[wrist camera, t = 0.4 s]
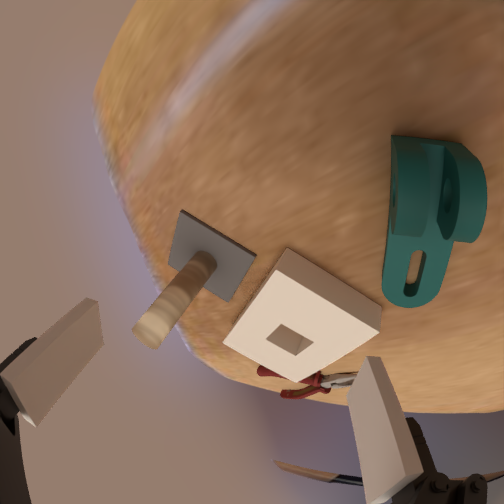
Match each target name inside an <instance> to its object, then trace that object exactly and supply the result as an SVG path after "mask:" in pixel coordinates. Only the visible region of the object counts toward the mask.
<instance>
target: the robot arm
mask: <svg viewBox="0 0 504 504" xmlns="http://www.w3.org/2000/svg"><path fill="white" fill-rule="evenodd" d="M103 345H104V342H103V336H102V329H101V322H100V315H99V306H98V301H95V300H92V299H89V298H85V299H84V300H83V301H82V302H80V303H79V304H78V305H77V306H75V307H74V308H73V309H72V310H70V311H69V312H68V313H67V314H66V315H64V316H63V317H62V318H61V319H60V320H59V321H57V322H56V323H55V324H54V325H53V326H51V327H50V328H49V329H48V330H47V331H46V332H45V333H43V334H42V335H41V336H40V337H39V338H38V339H37V338H36V337H34V338H32V339H29V340H27V341H25V342H24V343H23V344H22V345H21V346H20V347H19V349H16V350H15V351H14V352H13V354H11V355H10V356H8V357H7V358H6V359H5V360H4V361H3V362H2V363H1V364H0V504H31V500H30V496H29V491H28V487H27V483H26V478H25V472H24V466H23V460H22V452H21V444H20V434H19V420H18V416H17V413H18V412H19V411H20V412H21V414H22V415H23V417H24V418H25V420H27V421H28V422H29V423H31V424H32V425H34V426H35V427H37V426H38V425H39V424H40V422H41V421H42V420H43V418H44V417H45V416H46V415H47V413H48V412H49V411H50V409H51V408H52V407H53V405H54V404H55V403H56V402H57V400H58V399H59V398H60V397H61V395H62V394H63V393H64V392H65V390H66V389H67V388H68V387H69V385H70V384H71V383H72V382H73V380H74V379H75V378H76V377H77V376H78V374H79V373H80V372H81V371H82V370H83V368H84V367H85V366H86V365H87V364H88V363H89V361H90V360H91V359H92V358H93V356H94V355H95V354H96V353H97V352H98V351H99V350H100V348H101V347H102V346H103ZM346 396H347V401H348V405H349V410H350V414H351V419H352V424H353V429H354V433H355V439H356V444H357V449H358V455H359V460H360V466H361V472H362V478H363V484H364V491H365V497H366V504H380V503H384V502H385V501H387V500H388V499H390V498H391V497H392V502H393V503H391V504H486V503H487V481H486V480H485V478H484V477H483V476H482V475H480V474H472V475H471V476H469V477H468V478H467V479H466V480H464V481H460V480H449V478H448V477H447V476H446V475H445V474H443V473H439V472H437V470H436V468H435V465H434V462H433V459H432V457H431V454H430V451H429V448H428V446H427V444H426V440H425V438H424V437H423V433H422V430H421V427H420V425H419V424H418V423H417V422H416V421H415V419H414V418H413V417H410V418H405V416H404V413H403V411H402V408H401V406H400V403H399V401H398V398H397V396H396V393H395V391H394V388H393V386H392V383H391V381H390V379H389V376H388V374H387V371H386V369H385V367H384V364H383V362H382V360H381V358H380V357H374V356H366V358H365V360H364V362H363V364H362V366H361V368H360V370H359V372H358V374H357V376H356V378H355V380H354V382H353V384H352V385H351V387H350V389H349V391H348V393H347V395H346Z"/></svg>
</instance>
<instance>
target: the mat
mask: <svg viewBox="0 0 504 504" xmlns="http://www.w3.org/2000/svg"><path fill="white" fill-rule="evenodd" d="M198 251H205V252H208V253H209V254H211V255H212V256H213V257H214V259H215V260H216V262H217V268H216V270H215V271H214V272H213V274H212V275H211V276H210V278H209V279H208V280H207V282H206V283H205V284H204V286H203V287H204V288H205V289H207V290H209V291H210V292H212V293H213V294H215V295H217V296H218V297H220V298H221V299H223V300H225V301H226V302H229V301H230V299H231V298H232V296H233V294H234V292H235V291H236V289H237V287H238V286H239V284H240V282H241V281H242V279H243V277H244V276H245V274H246V272H247V271H248V269H249V267H250V266H251V264H252V262H253V261H254V259H255V257H256V254H254V253H253V252H251V251H249V250H248V249H246V248H244V247H243V246H241V245H239V244H238V243H236V242H234V241H233V240H231V239H230V238H228V237H226V236H225V235H223V234H221V233H220V232H218V231H216V230H215V229H213V228H211V227H210V226H208V225H207V224H205V223H203V222H202V221H200V220H198V219H197V218H195V217H193V216H192V215H190V214H188V213H187V212H185V211H183V210H181V211H180V213H179V217H178V221H177V225H176V230H175V234H174V238H173V243H172V247H171V252H170V256H169V261H168V265H170V266H171V267H173V268H174V269H176V270H177V271H179V272H180V271H181V269H182V268H183V267H184V266H185V265H186V264H187V262H188V261H189V260H190V259H191V258H192V257H193V256H194V254H195V253H196V252H198Z"/></svg>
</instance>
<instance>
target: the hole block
mask: <svg viewBox="0 0 504 504" xmlns="http://www.w3.org/2000/svg"><path fill="white" fill-rule="evenodd" d="M381 313H382V307H381V306H380V305H378V304H377V303H375V302H373V301H372V300H370V299H369V298H367V297H366V296H364V295H363V294H361V293H359V292H358V291H356V290H355V289H353V288H352V287H350V286H348V285H347V284H345V283H344V282H342V281H341V280H339V279H337V278H336V277H334V276H333V275H331V274H329V273H328V272H326V271H325V270H323V269H321V268H320V267H318V266H317V265H315V264H313V263H312V262H310V261H309V260H307V259H305V258H304V257H302V256H301V255H299V254H297V253H296V252H294V251H292V250H291V249H289V248H288V247H287V248H286V250H285V251H284V253H283V254H282V255H281V257H280V258H279V260H278V261H277V263H276V264H275V266H274V267H273V268H272V270H271V271H270V273H269V274H268V276H267V277H266V279H265V280H264V281H263V283H262V284H261V286H260V287H259V289H258V290H257V291H256V293H255V294H254V296H253V297H252V298H251V300H250V301H249V303H248V304H247V306H246V307H245V308H244V310H243V311H242V313H241V314H240V315H239V317H238V318H237V320H236V321H235V322H234V324H233V325H232V327H231V329H230V330H229V332H228V334H227V336H226V337H225V339H224V341H223V343H224V344H225V345H227V346H229V347H230V348H232V349H234V350H236V351H237V352H239V353H241V354H243V355H244V356H246V357H248V358H250V359H251V360H253V361H255V362H257V363H259V364H261V365H262V366H264V367H266V368H268V369H270V370H272V371H274V372H276V373H277V374H279V375H281V376H283V377H285V378H287V379H289V380H291V381H293V382H295V383H297V382H299V381H301V380H303V379H304V378H306V377H308V376H310V375H312V374H314V373H315V372H317V371H319V370H321V369H322V368H324V367H326V366H328V365H329V364H331V363H333V362H334V361H336V360H338V359H339V358H341V357H343V356H344V355H346V354H347V353H349V352H351V351H352V350H354V349H355V348H357V347H358V346H360V345H362V344H363V343H365V342H366V341H368V340H369V339H371V338H372V337H374V336H375V335H376V334H378V333H379V332H380V324H381Z"/></svg>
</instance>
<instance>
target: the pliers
mask: <svg viewBox="0 0 504 504" xmlns="http://www.w3.org/2000/svg"><path fill="white" fill-rule="evenodd" d="M320 373H321V371H317V373H316V374H315V373H314V374H312V375H310V376H308V377H306V378H304V379H303V380H301V381H299V382H301V383H305V384H309V385H310V386H308V387H306V388H303V389H300V390H282V391H281V394H280V396H281V397H282V398H285V399H302V398H305V397H308V396H310V395H313V394H315V393H318V392H322V393H324V394H327V393H329V392H330V390H331V387H332V388H343V387H349V386H351V385H352V384H353V382H354V380H352V379H355V378H356V376H357V374H331V375H330V376H324V375H321V374H320ZM257 374H258V375H259V376H275V377H280V378H285V377H283V376H281V375H279V374H277V373H276V372H274V371H272V370H270V369H268V368H266V367H264V366H262V365H261V366H259V367H258V369H257ZM285 379H287V378H285ZM288 380H289V379H288Z"/></svg>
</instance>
